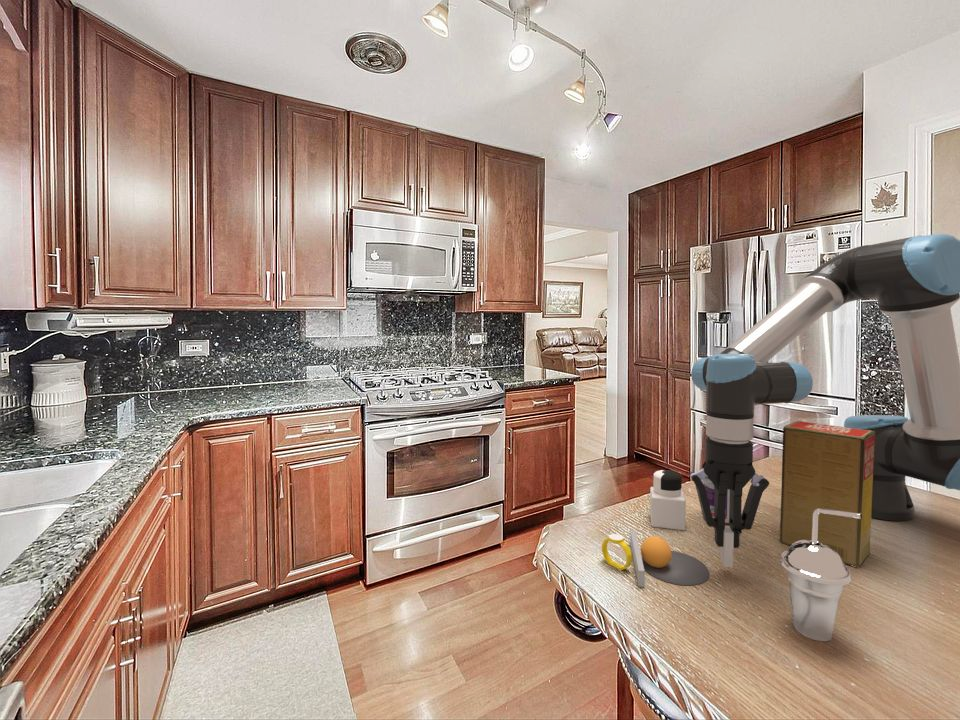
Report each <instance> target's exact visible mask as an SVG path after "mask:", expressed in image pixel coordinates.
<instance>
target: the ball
mask: <svg viewBox="0 0 960 720" xmlns="http://www.w3.org/2000/svg"><path fill="white" fill-rule="evenodd" d="M671 551H672V549H671V547H670V545H669V543H668V542H667V541H666V540H665V539H663V538H661V537H659V536H650V537H647V538H645V540H643V542H642V544H641V546H640V553H641V557H643V559H644V560H645V562H646V563H648V564H649V565H650V566H652V567H656V568H661V567H664V566H666V565H667V564H668V563H669V562H670V560H671V557H672V553H671Z"/></svg>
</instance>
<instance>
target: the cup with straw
mask: <svg viewBox="0 0 960 720" xmlns="http://www.w3.org/2000/svg"><path fill="white" fill-rule="evenodd" d="M820 513H823V514H830V515H837V516H844V517H851V518H858V519H862V515H861V514H860V513H852V512H845V511H837V510H830V509H823V508H818V509H815V510H814V511H813V514H812V539H803V540H799V541H796V542H795V543H793V544H792V545H791V546H790V545H789V547H788V549H787V550H784V552H782V553H781V555H780V557H779V563H780V564H781V566H782V567H783V568H784V569H785V572H786V573H785V574H786V575H787V580H788V583H789V592H790V601H791V610H792V611H791V613H792V620H793V628H794V629H795V630H796V632H798V633H799V634H801V635H802V636H804V637H805V638H808V639H810V640H813V641H817V642H829V641H831V640H832V633H833V632H834V626H835V622H836V616H837V611H838V606H839V602H840V597H841V595H842V594H843V590H844V588H845V585H848V584H850V583H851V582H852V580H853V577H852V573H851V570H850V568H848V566H847V565H846V564H844V563H843V561H842V559H841V557H840V556H839V554H838V553H837V552H836V551H835V550H834V549H833V548H831V547H830V546H828V545H827V544H825V543H823V542H820V541H817V540H818V515H819V514H820Z"/></svg>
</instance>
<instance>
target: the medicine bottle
mask: <svg viewBox="0 0 960 720" xmlns="http://www.w3.org/2000/svg"><path fill="white" fill-rule="evenodd" d="M682 478H683V477H682V475H681V474H680V473H678V472H676V471H673V470H671V469H670V470H668V469H661V470H660V469H659V470H656V471H655V472H654V473H653V486H650V488H649V490H650V492H649V493H650V494H649V500H650V501H649V503H650V504H649V515H650V523H651V527H652V528H653V527H655V528H662V529H669V530H679V531H685V530H686V513H687V512H686V509H687V508H686V498H685V494H684V492H683V490H682V483H683V481H682V480H683V479H682Z"/></svg>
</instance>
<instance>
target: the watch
mask: <svg viewBox="0 0 960 720" xmlns="http://www.w3.org/2000/svg"><path fill="white" fill-rule="evenodd" d="M624 539H625V537H624V536H623V535H621V534H618V533H611V534H609V535H608V537H607V538H605V539H604V540H603V541H602V543H601V552H602V555H603V558H604V560H605V561H606V563H607V564H608V565H610V566H612V567H613V568H616V569H618V570H619V571H624V570H625V569H627V568H629V567H630V566H631V564H632V562H633V555H632V550H631V547H630V546H629V545H628V543H627V542H626V541H625V540H624ZM608 542H610V543H613V544H617V545H618V544H619V545H620V547H621V548H622V549H623V551H624V553H625V555H626V556H625V557H626V559H625V560H626V561H625V564H624V565H622V564H620V563H618V562H616V561H615V560H613V559H612V557H611V556H610V554H609V551H608Z"/></svg>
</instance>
